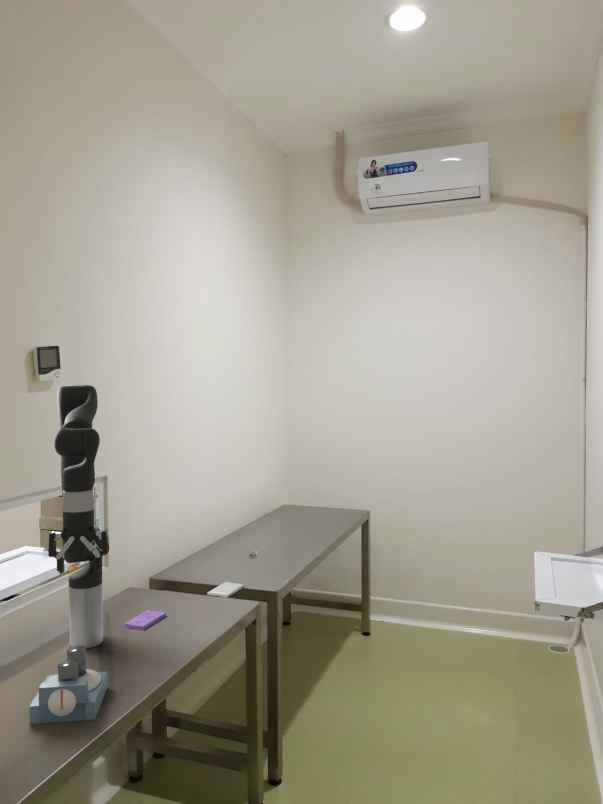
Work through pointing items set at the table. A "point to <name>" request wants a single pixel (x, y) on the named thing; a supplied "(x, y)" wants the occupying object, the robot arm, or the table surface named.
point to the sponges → (145, 620)
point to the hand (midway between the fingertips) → (79, 572)
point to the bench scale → (69, 698)
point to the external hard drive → (225, 589)
